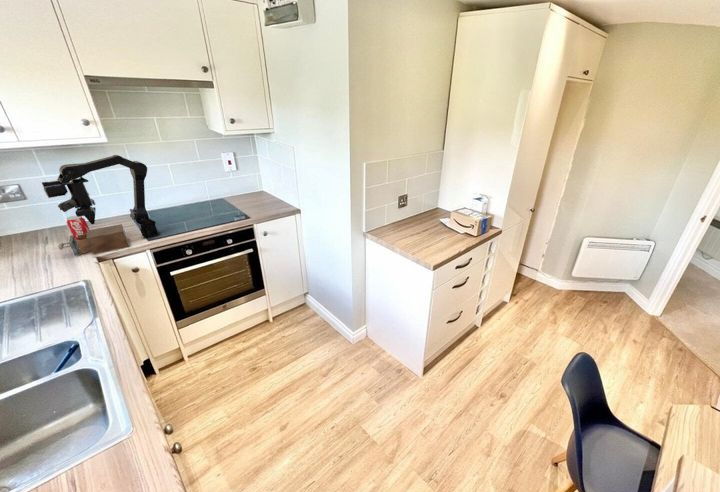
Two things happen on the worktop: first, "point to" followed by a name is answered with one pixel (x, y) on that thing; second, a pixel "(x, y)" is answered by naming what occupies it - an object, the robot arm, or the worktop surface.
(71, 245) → the drawer
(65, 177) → the robot arm
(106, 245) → the cabinet
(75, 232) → the soda can
